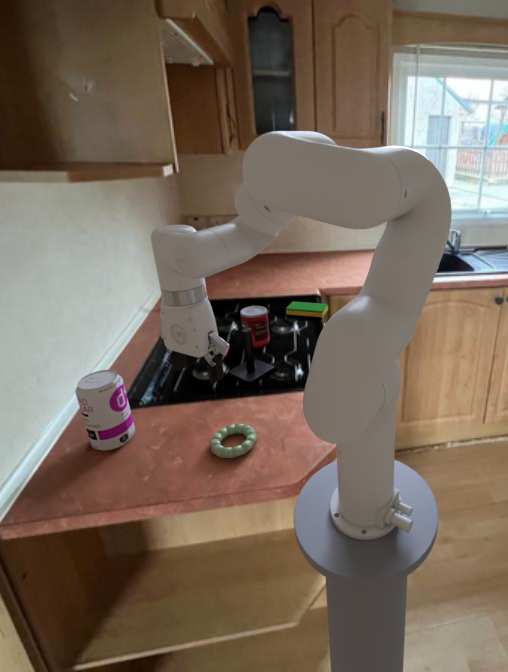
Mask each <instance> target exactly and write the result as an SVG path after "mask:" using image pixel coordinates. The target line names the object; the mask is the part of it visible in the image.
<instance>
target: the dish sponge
mask: <svg viewBox="0 0 508 672" xmlns="http://www.w3.org/2000/svg"><path fill="white" fill-rule="evenodd" d="M328 311H329V304H328V303H318V302H305V301H291V302H290V304H289V305H287V307H285V314H286V315H290V316H300V317H301V316H303V317H315V318H323V317H324V316H325V315H326V314H327V312H328Z"/></svg>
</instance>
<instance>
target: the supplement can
mask: <svg viewBox="0 0 508 672" xmlns="http://www.w3.org/2000/svg"><path fill="white" fill-rule="evenodd" d="M75 396H76V399H77V403H78V407H79V410H80V413H81V415H82V419H83V422H84V426H85V429H86V433H87V436H88V439H89V442H90V445H91V447H92V448H93V449H95V450H99V451H111V450H115V449H117V448H120V447H122V446H124V445H125V444H127V443H128V442H129V441H131V439H132V437H133V436H134V435H135V432H136V426H135V423H134V419H133V416H132V411H131V406H130V403H129V400H128V395H127V390H126V388H125V383H124V379H123V377H122V375H120V374H118V372H117V371H116V370H114V369H101V370H97V371H93V372H91V373H89V374H86V375H84V376H83V377H81V378H80V379H78V381H77V383H76V388H75Z"/></svg>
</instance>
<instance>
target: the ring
mask: <svg viewBox="0 0 508 672" xmlns="http://www.w3.org/2000/svg"><path fill="white" fill-rule="evenodd" d="M235 434H236V435H237V434H241V435H244V436H245V437H246V438H245V440H244V441H243V442H242V443H240V444H238V445H235V446H233V447H227V446H226V447H225V446H223V445H222V444H221V443H222V442H223V440H224V439H226V438H227V437H228V436H231V435H235ZM257 439H258V435H257V432H256V430H255V428H254V427H252V426H250V425H248V424H246V423H232V424H230V425H226V426H223V427H222V428H220V429H219V430H218V431H216V432H215V433H214V434H213V436H212V438H211V440H210V441H209V446H210V451H211V453H212V454H214V456H216V457H218V458H220V459H234V458H237V457H241V456H243V455H245V454H247V453H248V452H250V450H252V449H253V448H254V447H255V443H256V441H257Z"/></svg>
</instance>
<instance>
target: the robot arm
mask: <svg viewBox="0 0 508 672" xmlns="http://www.w3.org/2000/svg"><path fill="white" fill-rule="evenodd" d="M241 164H242V165H241V172H242V179H243V182H242V183H241V184H240V185H238V186H237V188H236V190H235V193H234V197H233V201H234V207H235V210H236V213H237V215H238V216H236V217H235V218H234V219H232V220H230V221H229V222H227V223H223V224H219V225H215V226H212V227H208V228H204V229H199V230H196V228H195V227H193V226H191V225H189V224H188V225H187V224H170V225H163V226H160V227H157V228H155V229H154V230H153V231H152V232H151V233H150V242H151V248H152V253H153V258H154V263H155V269H156V274H157V279H158V283H159V289H160V293H161V299H162V300H161V301H160V328H158V329H157V332H158V334H159V336H160V339H161V341H162V343H163V345H164V346H165V348H166V353H167V354H168V355H169V359H170V363H171V369H172V372H174V373H178V372H179V371H181V370H183V369H184V368H186V367H188V365H189V363H188V358H187V356H190V357H194V358H204V359H205V360H206V362H207V363H208V365H207V374H208V375H207V376H208V380H209V384H211V385H215V384H216V383H218V382H219V381H220V380H222V379H223V378H224V377H225V371H224V363H223V361H224V360H225V358H226V357H228V353H229V350H230V347H231V346H230V344H229V343H228V342H227V341H226V340H224V339H223V338H222V337H221V336H219V332H218V327H217V321H216V318H215V315H214V311H213V307H212V305H211V301H210V300H209V299H208V291H207V286H206V285H207V284H206V278H208V277H211V276H214V275H216V274H219V273H222V272H223V271H226V270H229V269H231V268H234V267H236V266H240V265H243V264H244V263H246V262H248V261H250V260H251V259H253V258H254V257H256V256H257V255H258V254H259V253H262V252H263V251H264V250H265V249H266V248H268V247H269V246H271V244H273V243H274V242H275V241H276V239H277V238H278V237H279V235H280V232H281V230H283V229H284V228H285V227H287V226H288V225H289V224H290V223H292V222H293V221H294V220H296V219H297V218H298V217H302V218H306V219H309V220H313V221H316V222H319V223H320V222H321V223H325V224H327V225H332V226H335V227H339V228H343V229H349V230H369V229H373V228H376V227H379V226H381V225H384V224H385V223H386V225H385V228H384V231H383V233H382V235H381V237H380V238H379V239H380V241H379V240H378V243H377V245H376V247H375V249H374V252H373V254H372V258H371V262H370V266H369V269H368V272H367V274H366V278H365V280H364V282H363V285H362V287H361V289H360V291H359V293H358V294H357V295H356V296H355V297H353V299H351V300H350V301H349V302H348V303H346V304H345V305H343V306H342V307H341V308H340V309H338V310H336V312H334V314H333V315H331V317H330V318H329V319H328V320H327V321H326V323H325V324H324V326H323V327H322V330H321V331H320V333H319V336H318V338H317V341H316V344H315V349H314V352H313V356H312V360H311V363H310V367H309V371H308V375H307V377H306V382H305V386H304V390H303V395H302V411H303V415H304V419H305V421H306V424H307V426H308V428H309V429H310V430H311V432H312V433H313V434H314V436H316V437H317V438H319V439H320V440H321V441H323V442H325V443H329V444H332V445H336V447H335V449H336V461H337V475H338V487H337V488H336V489H335V491H334V492H333V494H332V496H331V500H330V515H331V518H332V521H333V523H334V524H335V526H336V527H337V528H338V529H339V530H340V531H341V532H342V533H344V534H345V535H347V536H349V537H351V538H355V539H359V540H372V539H376V538H380V537H382V536H384V535H386V534H388V533H389V532H391V531H392V530H393V529H394V528H395V527H396V526H397V527H398V528H399V529H401V530H403V531H405V532H406V533H409V532H410V530H411V528H412V525H413V521H412V520H410V519H408V518H406V517H405V516H402V513H404V514H406V515H408V516H410V515H411V513H412V510H413V508H412V507H410V506H408V505H406V504H403V503H402V500H401V496H400V494H399V489H397V488H395V487H394V460H395V454H396V453H395V449H396V428H397V427H396V426H397V424H396V423H397V413H398V404H399V400H400V399H399V398H400V392H401V386H402V368H401V364H400V361H399V357H400V355H402V353H403V351H404V350H405V349H406V348H407V347H408V345H409V344H410V342H411V340H412V339H413V337H414V335H415V333H416V329H417V328H418V323H419V320H420V318H421V315H422V312H423V309H424V306H425V305H426V302H427V299H428V296H429V294H430V292H431V289H432V285H433V283H434V280H435V278H436V274H437V272H438V269H439V266H440V263H441V261H442V258H443V257H444V256H443V255H444V253H445V249H446V248H447V244H448V240H449V237H450V231H451V225H452V200H451V196H450V191H449V189H448V185H447V183H446V181H445V178H444V177H443V175H442V174H441V172H440V171H439V169H438V168H437V166H435V164H434V163H433V162H432V161H431V160H430V159H429V158H428V157H426V156H425V155H424V154H423V153H421V152H419V151H417V150H415V149H413V148H411V147H406V146H401V145H399V146H398V145H389V146H387V145H386V146H380V147H378V146H377V147H367V148H365V147H364V148H355V147H348V146H341V145H338V144H337V143H336V142H335V141H334V140H333V139H331V138H330V137H329V136H327V135H326V134H323V133H320V132H317V131H312V130H274V131H269V132H265V133H262V134H261V135H259V136H257V137H256V138H255V139H254V140H253V141H252V142H251V143H250V144H249V146H248V147H247V148H246V150H245V153H244V155H243V158H242V163H241ZM211 352H212V353H213V354H214V357H213V356H212V354H211Z"/></svg>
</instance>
